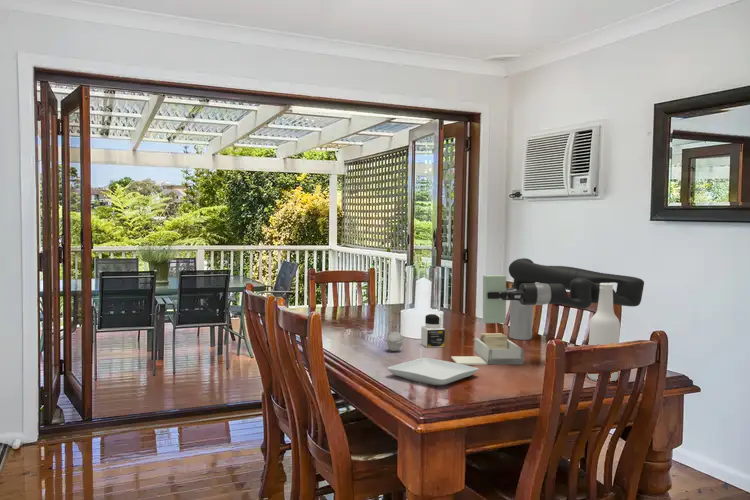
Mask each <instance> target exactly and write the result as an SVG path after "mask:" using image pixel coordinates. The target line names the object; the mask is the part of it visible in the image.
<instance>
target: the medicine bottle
mask: <svg viewBox="0 0 750 500" xmlns="http://www.w3.org/2000/svg"><path fill="white" fill-rule="evenodd" d="M424 318H425V319H424V320H425V321H424V322H425V325H421V326H420V327H421V333H420V334H421V335H420V344H421V345H422V346H424V347H426V348H427V349H428V348H429V349H430V348H444V347H445V340H446V339H445V338H446V337H445V336H446V334H445V333H446V329H445V328H443V326H442V316H441V315H439V314H434V313H433V314H432V313H430V314H427V315H425V317H424Z"/></svg>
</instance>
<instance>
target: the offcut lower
mask: <svg viewBox="0 0 750 500" xmlns="http://www.w3.org/2000/svg"><path fill="white" fill-rule="evenodd" d="M482 342H483V341H482ZM483 343H484V342H483ZM484 344H486V345H487V346H488V347H489V348H491V349H507V343H484Z"/></svg>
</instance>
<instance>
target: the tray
mask: <svg viewBox="0 0 750 500" xmlns="http://www.w3.org/2000/svg"><path fill="white" fill-rule="evenodd" d="M524 352H525V349H524V348H522V347H520V346H519V345H518V344H516V343H514V342H513V341H512V340H510V339H508V338H507V349H491V348H489V347H488V346H487V345H486V344H484V343H483V342H482V341H481V340H480V339H479V338H478V337H475V338H474V353H475V354H477V355H478V356H479V357H480V358H482V359H483V360H484V361H485V362H486V363H487V364H488V365H524V359H525V357H524V356H525V355H524V354H525V353H524Z"/></svg>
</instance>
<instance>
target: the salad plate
mask: <svg viewBox="0 0 750 500" xmlns="http://www.w3.org/2000/svg"><path fill="white" fill-rule="evenodd" d="M386 369H387V371H388V372H389V373H391V374H392V375H394V376H397V377H400V378H403V379H406V380H410V381H413V382H414V381H415V382H418V383H422V384H427V385H432V386H439V387H440V386H445V385H448V384H451V383H454V382H457V381H459V380H463V379H465V378H467V377H471V376H472V375H474V374H476V373H477V372H478V371H479V369H480V368H479V367H475V366H473V365H463V364H458V363H455V362H453V361H448V360H441V359H436V358H431V357H430V358H429V357H421V358H417V359H413V360H409V361H405V362H401V363H397V364H394V365H389V366H387V367H386Z"/></svg>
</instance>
